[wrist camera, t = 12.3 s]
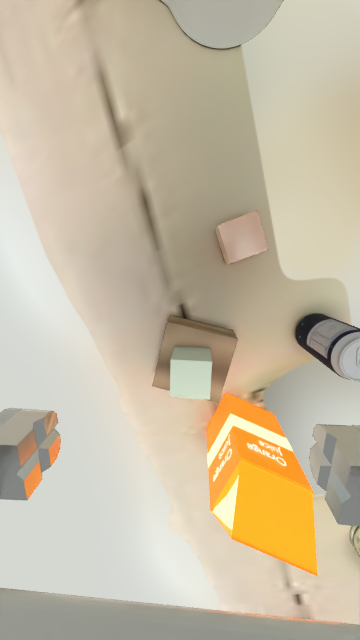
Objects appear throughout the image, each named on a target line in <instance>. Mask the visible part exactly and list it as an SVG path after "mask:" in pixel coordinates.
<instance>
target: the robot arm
mask: <svg viewBox="0 0 360 640" xmlns="http://www.w3.org/2000/svg"><path fill="white" fill-rule="evenodd" d="M161 1H162V2H164V3H165V4H166V5H167V6H168V7H169V9H170V11H171V12H172V14H173V16H174V18H175V20H176V21H177V23H178V25H179V26H180V27H181V29H182V30H183V31H184V32H185V33H186V34H187V35H188V36H189V37H191V38H192V39H193V40H195V41H196V42H198V43H200V44H202V45H205V46H208V47H212V48H230V47H235V46H238V45H241V44H243V43H245V42H247V41H249V40H250V39H252V38H253V37H255V36H256V35H257V34H258V33H260V32H261V31H262V30H263V29H264V28H265V27H266V26H267V25H268V23H269V22H270V21H271V20H272V18H273V17H274V15H275V14H276V12H277V10H278V8H279V7H280V5H281V3H282V2H283V1H284V0H161ZM57 423H58V419H57V414H56V413H55V412H54V411H47V410H33V409H17V408H9V409H5V410H3V411H2V412H1V413H0V499H9V500H28V499H29V497H30V495H31V494H32V493H33V491H34V490H35V489H36V487H37V486H38V485H39V483H40V482H41V480H42V472H43V471H45V470H46V469H48V468H49V467H51V466H52V464H53V463H54V461H55V460H56V458H57V455H58V453H59V450H60V443H61V439H60V434H59V433H58V432H57V431H56V429H55V426H56V425H57ZM313 437H314V439H315V441H316V442H317V443H316V444H315V445H314V446H312V448H311V449H310V457H309V459H310V467H311V471H312V474H313V477H314V479H315V480H316V482H317V484H318V485H319V486H320V487H322V488H323V489H324V490H325V491H326V496H325V500H326V502H327V504H328V506H329V508H330V510H331V511H332V513H333V515H334V517H335V519H336V521H337V523H338V524H342V525H351V526H360V425H352V426H346V425H322V424H321V425H320V424H316V426H315V427H314V431H313ZM0 640H360V625H357V624H347V623H337V622H327V621H318V620H308V619H298V618H289V617H279V616H269V615H259V614H250V613H240V612H230V611H220V610H211V609H210V610H209V609H200V608H191V607H181V606H171V605H162V604H152V603H143V602H133V601H122V600H113V599H103V598H94V597H84V596H75V595H65V594H55V593H45V592H36V591H26V590H17V589H7V588H0Z"/></svg>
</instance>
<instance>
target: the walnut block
mask: <svg viewBox="0 0 360 640" xmlns="http://www.w3.org/2000/svg"><path fill="white" fill-rule="evenodd" d="M237 341H238V339H237V337H236V335H235V333H234V331H233V330H229V329H225V328H221V327H217V326H213V325H209V324H205V323H201V322H197V321H193V320H189V319H184V318H180V317H176V316H172V315H171V316H170V317H169V319H168V321H167V324H166V328H165V333H164V337H163V341H162V346H161V350H160V354H159V359H158V363H157V367H156V372H155V376H154V380H153V385H152V386H154V387H158V388H161V389H165V390H169V391H170V360H171V356H172V353H173V350H174V347H175V346H177V347H198V348H210V349H211V357H212V373H211V391H210V400H209V401H213V402H217V403H219V400H220V396H221V393H222V390H223V387H224V383H225V380H226V377H227V373H228V370H229V367H230V364H231V360H232V357H233V354H234V350H235V347H236V344H237ZM205 400H207V399H205Z"/></svg>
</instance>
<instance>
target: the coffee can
mask: <svg viewBox="0 0 360 640" xmlns="http://www.w3.org/2000/svg"><path fill="white" fill-rule="evenodd" d="M350 539H351V542H352V544H353V546H354V547H355V549H356V551H357V552H358V554H359V556H360V526H353V527H352V529H351V532H350Z"/></svg>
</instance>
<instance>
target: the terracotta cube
mask: <svg viewBox="0 0 360 640" xmlns="http://www.w3.org/2000/svg"><path fill="white" fill-rule="evenodd" d="M215 232H216V235H217V238H218V241H219V244H220V248H221V251H222V254H223V257H224V260H225V263H226V264H231V263H234V262H237V261H239V260H242V259H245V258H248V257H250V256H253V255H256V254H259V253H261V252H264V251H267V250H269V249H268V246H267V242H266V239H265V235H264V232H263V228H262V225H261V221H260V218H259V215H258V211H257V210H255V211H253V212H250V213H247V214H245V215H242V216H240V217H237V218H235V219H232V220H230V221H227V222H224V223H222V224H219V225H218V226H217V228H216V230H215Z"/></svg>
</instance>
